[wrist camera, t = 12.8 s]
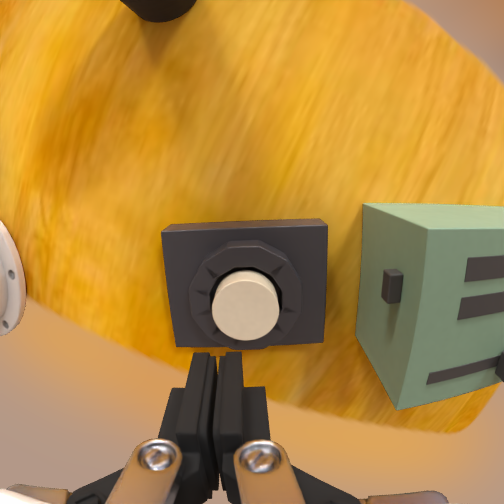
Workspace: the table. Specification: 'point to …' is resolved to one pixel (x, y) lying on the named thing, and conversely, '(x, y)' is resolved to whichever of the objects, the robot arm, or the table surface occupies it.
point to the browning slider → (500, 367)
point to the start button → (245, 305)
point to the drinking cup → (159, 9)
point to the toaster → (432, 298)
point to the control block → (254, 259)
